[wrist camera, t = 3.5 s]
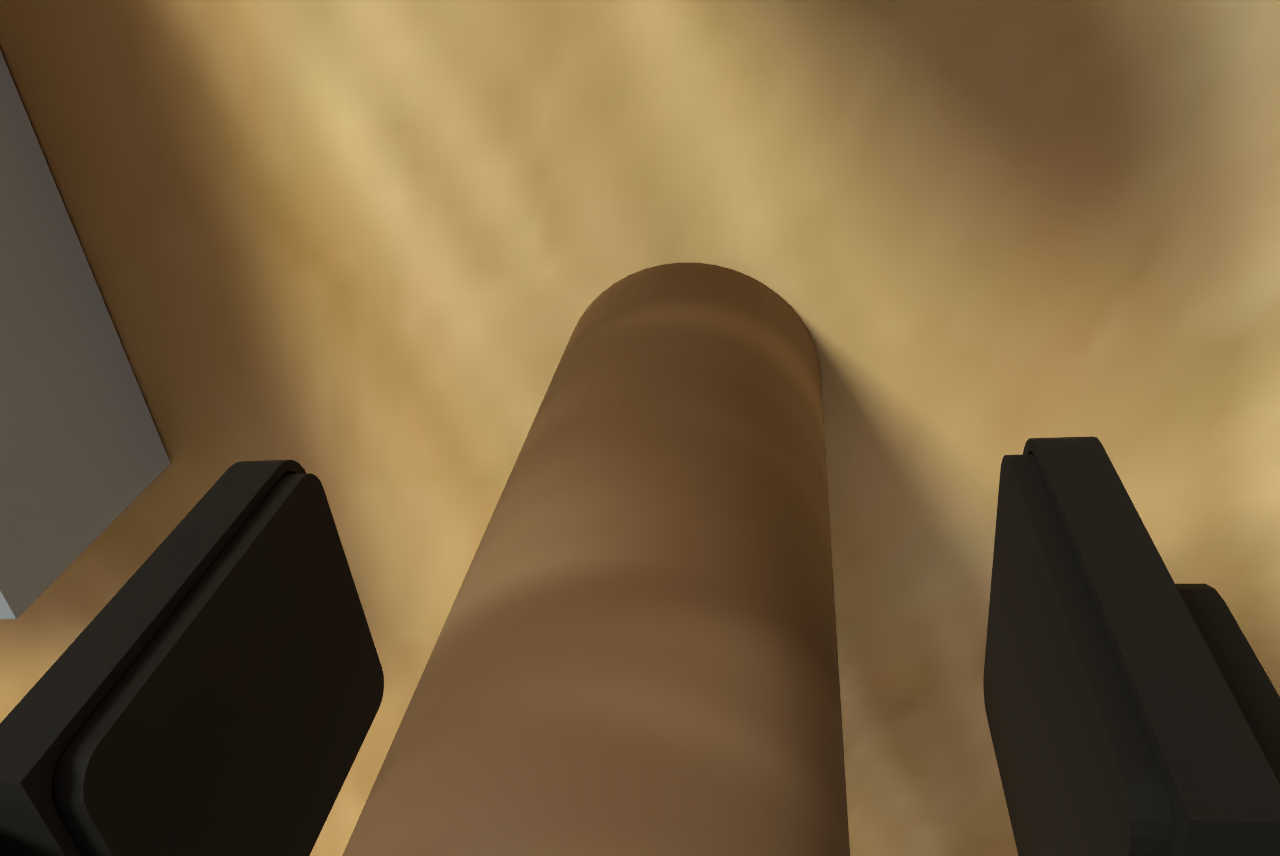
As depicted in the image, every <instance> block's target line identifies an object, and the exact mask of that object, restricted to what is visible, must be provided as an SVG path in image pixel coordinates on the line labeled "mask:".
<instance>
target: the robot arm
mask: <svg viewBox="0 0 1280 856" xmlns="http://www.w3.org/2000/svg"><path fill="white" fill-rule="evenodd" d="M383 690H384V675H383V671H382V667H381V664H380V661H379V657H378V654H377V651H376V648H375V645H374V642H373V639H372V636H371V633H370V630H369V627H368V624H367V621H366V618H365V615H364V611H363V608H362V605H361V602H360V599H359V596H358V593H357V590H356V587H355V584H354V581H353V578H352V575H351V572H350V568H349V565H348V562H347V559H346V556H345V553H344V550H343V547H342V544H341V541H340V538H339V535H338V532H337V529H336V526H335V522H334V519H333V516H332V513H331V510H330V507H329V504H328V501H327V498H326V495H325V492H324V489H323V486H322V484H321V482H320V480H319V479H318V478H317V477H316V476H315V475H313V474H306V472H305V470H304V469H303V467H302V466H301V465H300V464H299V463H298V462H295V461H293V460H273V461H243V462H237V463H235V464H234V465H232V466H231V467H230V468H229V469H228V470H227V471H226V472H225V473H224V474H223V475H222V476H221V478H220V479H219V480H218V481H217V482H216V483H215V484H214V485H213V487H212V488H211V489H210V490H209V491H208V492H207V493H206V494H205V495H204V497H203V498H202V499H201V500H200V501H199V502H198V503H197V504H196V506H195V507H194V508H193V509H192V510H191V511H190V512H189V513H188V514H187V516H186V517H185V518H184V519H183V520H182V521H181V522H180V523H179V525H178V526H177V527H176V528H175V529H174V530H173V531H172V532H171V533H170V535H169V536H168V537H167V538H166V539H165V540H164V541H163V542H162V543H161V545H160V546H159V547H158V548H157V549H156V550H155V551H154V552H153V554H152V555H151V556H150V557H149V558H148V559H147V560H146V561H145V562H144V564H143V565H142V566H141V567H140V568H139V569H138V570H137V571H136V573H135V574H134V575H133V576H132V577H131V578H130V579H129V580H128V581H127V583H126V584H125V585H124V586H123V587H122V588H121V589H120V590H119V592H118V593H117V594H116V595H115V596H114V597H113V598H112V599H111V600H110V602H109V603H108V604H107V605H106V606H105V607H104V608H103V609H102V611H101V612H100V613H99V614H98V615H97V616H96V617H95V618H94V619H93V621H92V622H91V623H90V624H89V625H88V626H87V627H86V628H85V630H84V631H83V632H82V633H81V634H80V635H79V636H78V637H77V638H76V640H75V641H74V642H73V643H72V644H71V645H70V646H69V647H68V649H67V650H66V651H65V652H64V653H63V654H62V655H61V656H60V657H59V659H58V660H57V661H56V662H55V663H54V664H53V665H52V666H51V668H50V669H49V670H48V671H47V672H46V673H45V674H44V675H43V676H42V678H41V679H40V680H39V681H38V682H37V683H36V684H35V685H34V687H33V688H32V689H31V690H30V691H29V692H28V693H27V694H26V695H25V697H24V698H23V699H22V700H21V701H20V702H19V703H18V704H17V706H16V707H15V708H14V709H13V710H12V711H11V712H10V713H9V714H8V716H7V717H6V718H5V719H4V720H3V721H2V722H1V723H0V856H309V855H310V853H311V851H312V849H313V847H314V845H315V843H316V840H317V838H318V836H319V834H320V832H321V830H322V828H323V826H324V823H325V821H326V819H327V817H328V815H329V813H330V811H331V809H332V807H333V804H334V802H335V800H336V798H337V796H338V794H339V792H340V790H341V788H342V785H343V783H344V781H345V779H346V777H347V775H348V773H349V771H350V768H351V766H352V764H353V762H354V760H355V758H356V756H357V754H358V752H359V749H360V747H361V745H362V743H363V741H364V739H365V737H366V735H367V733H368V730H369V728H370V726H371V724H372V722H373V720H374V718H375V716H376V713H377V711H378V709H379V707H380V704H381V701H382V696H383ZM984 700H985V708H986V714H987V719H988V724H989V728H990V732H991V737H992V741H993V746H994V750H995V754H996V759H997V763H998V768H999V772H1000V776H1001V781H1002V785H1003V789H1004V794H1005V798H1006V803H1007V807H1008V811H1009V816H1010V820H1011V825H1012V829H1013V833H1014V838H1015V842H1016V846H1017V851H1018V855H1019V856H1280V697H1279V695H1278V693H1277V692H1276V690H1275V688H1274V686H1273V685H1272V683H1271V681H1270V679H1269V678H1268V676H1267V674H1266V672H1265V671H1264V669H1263V667H1262V665H1261V664H1260V662H1259V660H1258V659H1257V657H1256V655H1255V653H1254V652H1253V650H1252V648H1251V646H1250V645H1249V643H1248V641H1247V639H1246V638H1245V636H1244V634H1243V633H1242V631H1241V629H1240V627H1239V626H1238V624H1237V622H1236V620H1235V619H1234V617H1233V615H1232V613H1231V612H1230V610H1229V608H1228V607H1227V605H1226V603H1225V601H1224V600H1223V599H1222V598H1221V596H1220V595H1219V594H1218V592H1217V591H1216V590H1215V589H1214V588H1212V587H1210V586H1208V585H1207V584H1175V583H1174V581H1173V579H1172V577H1171V576H1170V574H1169V572H1168V570H1167V568H1166V566H1165V564H1164V562H1163V560H1162V558H1161V556H1160V555H1159V553H1158V551H1157V549H1156V547H1155V545H1154V543H1153V541H1152V539H1151V537H1150V535H1149V533H1148V532H1147V530H1146V528H1145V526H1144V524H1143V522H1142V520H1141V518H1140V516H1139V514H1138V512H1137V511H1136V509H1135V507H1134V505H1133V503H1132V501H1131V499H1130V497H1129V495H1128V493H1127V491H1126V489H1125V488H1124V486H1123V484H1122V482H1121V480H1120V478H1119V476H1118V474H1117V472H1116V470H1115V468H1114V467H1113V465H1112V463H1111V461H1110V459H1109V457H1108V455H1107V453H1106V451H1105V449H1104V447H1103V445H1102V444H1101V442H1100V441H1099V440H1098V438H1096V437H1064V438H1029V439H1028V440H1027V442H1026V444H1025V447H1024V451H1023V455H1005V456H1004V457H1003V460H1002V463H1001V471H1000V483H999V495H998V507H997V519H996V532H995V544H994V556H993V568H992V580H991V593H990V605H989V617H988V629H987V642H986V654H985V666H984Z"/></svg>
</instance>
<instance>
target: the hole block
mask: <svg viewBox="0 0 1280 856" xmlns="http://www.w3.org/2000/svg"><path fill="white" fill-rule="evenodd" d="M170 464H171V463H170V461H169V458H168V456H167V453H166V451H165V449H164V446H163V444H162V441H161V439H160V436H159V434H158V432H157V429H156V427H155V424H154V422H153V419H152V417H151V415H150V412H149V410H148V407H147V405H146V402H145V400H144V398H143V395H142V393H141V390H140V388H139V385H138V383H137V381H136V378H135V376H134V373H133V371H132V368H131V366H130V364H129V361H128V359H127V356H126V354H125V351H124V349H123V347H122V344H121V342H120V339H119V337H118V334H117V332H116V330H115V327H114V325H113V322H112V320H111V317H110V315H109V313H108V310H107V308H106V305H105V303H104V300H103V298H102V296H101V293H100V291H99V288H98V286H97V283H96V281H95V279H94V276H93V274H92V271H91V269H90V266H89V264H88V262H87V259H86V257H85V254H84V252H83V249H82V247H81V245H80V242H79V240H78V237H77V235H76V232H75V230H74V228H73V225H72V223H71V220H70V218H69V215H68V213H67V211H66V208H65V206H64V203H63V201H62V198H61V196H60V194H59V191H58V189H57V186H56V184H55V181H54V179H53V177H52V174H51V172H50V169H49V167H48V164H47V162H46V160H45V157H44V155H43V152H42V150H41V147H40V145H39V143H38V140H37V138H36V135H35V133H34V130H33V128H32V126H31V123H30V121H29V118H28V116H27V113H26V111H25V109H24V106H23V104H22V101H21V99H20V96H19V94H18V92H17V89H16V87H15V84H14V82H13V79H12V77H11V75H10V72H9V70H8V67H7V65H6V62H5V60H4V58H3V55H2V53H1V50H0V619H17V618H18V617H19V616H20V615H21V614H22V613H23V612H24V611H25V610H26V609H27V608H28V607H29V606H30V605H31V604H32V603H33V602H34V601H35V600H36V599H37V598H38V597H39V596H40V595H41V594H42V593H43V592H44V591H45V590H46V589H47V588H48V587H49V586H50V585H51V584H52V583H53V582H54V581H55V580H56V579H57V578H58V577H59V576H60V575H61V574H62V573H63V572H64V571H65V570H66V569H67V568H68V567H69V566H70V565H71V564H72V563H73V562H74V561H75V560H76V559H77V558H78V556H79V555H80V554H81V553H82V552H83V551H84V550H85V549H86V548H87V547H88V546H89V545H90V544H91V543H92V542H93V541H94V540H95V539H96V538H97V537H98V536H99V535H100V534H101V533H102V532H103V531H104V530H105V529H106V528H107V527H108V526H109V525H110V524H111V523H112V522H113V521H114V520H115V519H116V518H117V517H118V516H119V515H120V514H121V513H122V512H123V511H124V510H125V509H126V508H127V507H128V506H129V505H130V504H131V503H132V502H133V501H134V500H135V499H136V498H137V497H138V496H139V495H140V494H141V493H142V492H143V491H144V490H145V489H146V488H147V487H148V486H149V485H150V484H151V483H152V482H153V481H154V480H155V479H156V478H157V477H158V476H159V475H160V474H161V473H162V472H163V471H164V470H165V469H166V468H167V467H168V466H169V465H170Z"/></svg>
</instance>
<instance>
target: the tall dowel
mask: <svg viewBox="0 0 1280 856" xmlns="http://www.w3.org/2000/svg"><path fill="white" fill-rule="evenodd" d="M343 856H850V848H849V831H848V815H847V799H846V782H845V766H844V749H843V733H842V717H841V700H840V684H839V667H838V651H837V635H836V618H835V602H834V585H833V569H832V553H831V536H830V520H829V503H828V487H827V471H826V454H825V438H824V421H823V405H822V389H821V375H820V365H819V360H818V356H817V352H816V348H815V346H814V343H813V341H812V338H811V336H810V334H809V332H808V330H807V329H806V327H805V325H804V324H803V322H802V320H801V319H800V318H799V316H798V315H797V314H796V313H795V311H794V310H793V309H792V308H791V306H790V305H789V304H788V303H786V302H785V301H784V300H783V299H782V298H781V297H780V296H779V295H778V294H777V293H775V292H774V291H772V290H771V289H770V288H768V287H767V286H766V285H764V284H762V283H761V282H759V281H757V280H755V279H753V278H751V277H750V276H747V275H745V274H742V273H740V272H737V271H735V270H732V269H728V268H724V267H720V266H716V265H710V264H702V263H674V264H665V265H659V266H656V267H652V268H648V269H644V270H642V271H639V272H637V273H634V274H632V275H629V276H627V277H625V278H624V279H622V280H620V281H618V282H617V283H615V284H613V285H612V286H611V287H609V288H608V289H607V290H605V291H604V292H603V293H601V294H600V295H599V296H598V297H597V298H596V299H595V300H594V301H593V302H592V303H591V304H590V306H589V307H588V308H587V310H586V311H585V312H584V314H583V315H582V316H581V318H580V320H579V322H578V324H577V325H576V327H575V329H574V331H573V333H572V336H571V338H570V340H569V342H568V345H567V347H566V349H565V351H564V354H563V356H562V358H561V361H560V363H559V365H558V367H557V370H556V372H555V374H554V376H553V379H552V381H551V383H550V386H549V388H548V390H547V392H546V395H545V397H544V399H543V401H542V404H541V406H540V408H539V411H538V413H537V415H536V417H535V420H534V422H533V424H532V426H531V429H530V431H529V433H528V435H527V438H526V440H525V442H524V445H523V447H522V449H521V451H520V454H519V456H518V458H517V460H516V463H515V465H514V467H513V470H512V472H511V474H510V476H509V479H508V481H507V483H506V485H505V488H504V490H503V492H502V495H501V497H500V499H499V501H498V504H497V506H496V508H495V510H494V513H493V515H492V517H491V520H490V522H489V524H488V526H487V529H486V531H485V533H484V535H483V538H482V540H481V542H480V545H479V547H478V549H477V551H476V554H475V556H474V558H473V560H472V563H471V565H470V567H469V570H468V572H467V574H466V576H465V579H464V581H463V583H462V585H461V588H460V590H459V592H458V595H457V597H456V599H455V601H454V604H453V606H452V608H451V610H450V613H449V615H448V617H447V620H446V622H445V624H444V626H443V629H442V631H441V633H440V635H439V638H438V640H437V642H436V644H435V647H434V649H433V651H432V654H431V656H430V658H429V660H428V663H427V665H426V667H425V669H424V672H423V674H422V676H421V679H420V681H419V683H418V685H417V688H416V690H415V692H414V694H413V697H412V699H411V701H410V704H409V706H408V708H407V710H406V713H405V715H404V717H403V719H402V722H401V724H400V726H399V729H398V731H397V733H396V735H395V738H394V740H393V742H392V744H391V747H390V749H389V751H388V754H387V756H386V758H385V760H384V763H383V765H382V767H381V769H380V772H379V774H378V776H377V779H376V781H375V783H374V785H373V788H372V790H371V792H370V794H369V797H368V799H367V801H366V804H365V806H364V808H363V810H362V813H361V815H360V817H359V819H358V822H357V824H356V826H355V828H354V831H353V833H352V835H351V838H350V840H349V842H348V844H347V847H346V849H345V851H344V853H343Z"/></svg>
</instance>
